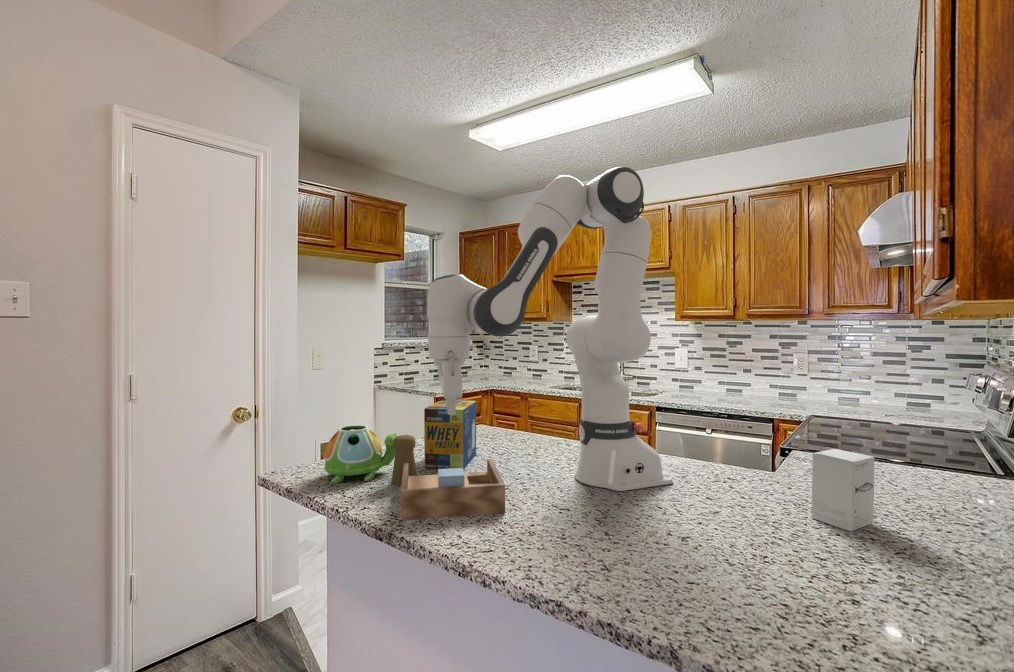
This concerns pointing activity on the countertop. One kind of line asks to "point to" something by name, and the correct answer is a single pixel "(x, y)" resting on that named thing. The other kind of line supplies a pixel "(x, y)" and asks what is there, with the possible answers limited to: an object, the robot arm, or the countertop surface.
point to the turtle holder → (357, 453)
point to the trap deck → (452, 495)
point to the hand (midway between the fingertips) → (451, 413)
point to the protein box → (449, 435)
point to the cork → (403, 457)
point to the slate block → (450, 477)
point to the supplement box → (843, 488)
